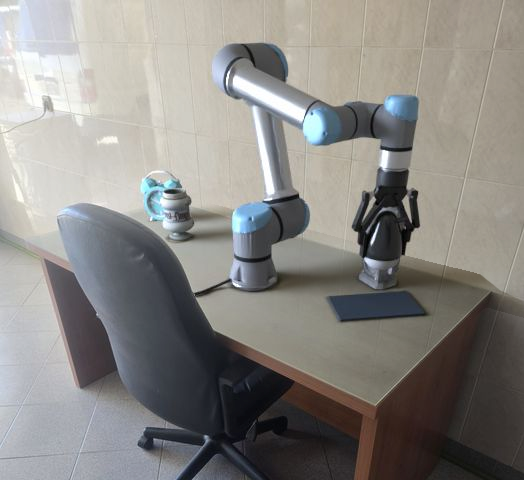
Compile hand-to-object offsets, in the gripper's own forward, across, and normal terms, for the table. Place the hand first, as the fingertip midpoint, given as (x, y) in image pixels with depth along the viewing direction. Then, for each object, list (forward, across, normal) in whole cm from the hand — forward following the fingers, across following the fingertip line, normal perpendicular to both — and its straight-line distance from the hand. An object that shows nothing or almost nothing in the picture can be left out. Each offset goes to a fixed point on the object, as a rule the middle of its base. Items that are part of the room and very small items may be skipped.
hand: (381, 255), depth 125 cm
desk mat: (+15, 0, 0) cm, 15 cm away
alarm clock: (+15, +64, -90) cm, 111 cm away
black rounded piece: (+3, 0, 0) cm, 3 cm away
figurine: (+16, -6, -16) cm, 23 cm away
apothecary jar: (+15, +57, -66) cm, 88 cm away
